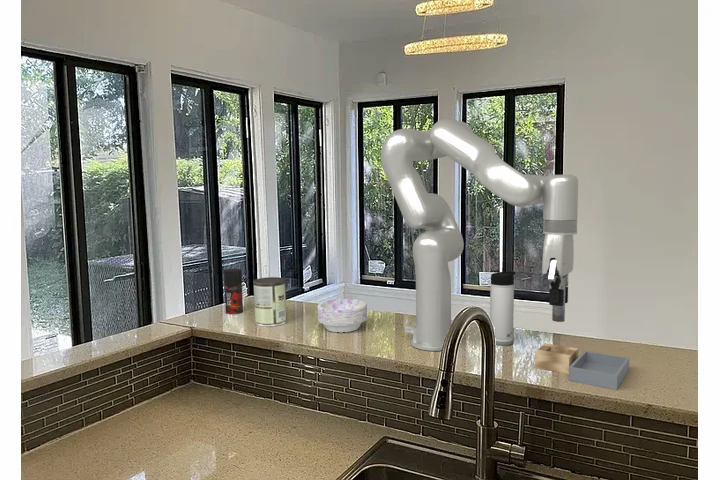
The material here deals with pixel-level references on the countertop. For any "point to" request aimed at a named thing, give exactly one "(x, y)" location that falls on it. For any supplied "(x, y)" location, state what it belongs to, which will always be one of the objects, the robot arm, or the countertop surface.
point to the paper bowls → (342, 314)
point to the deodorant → (233, 291)
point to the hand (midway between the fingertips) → (558, 303)
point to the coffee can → (270, 301)
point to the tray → (599, 369)
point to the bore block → (555, 358)
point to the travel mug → (502, 306)
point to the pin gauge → (559, 311)
